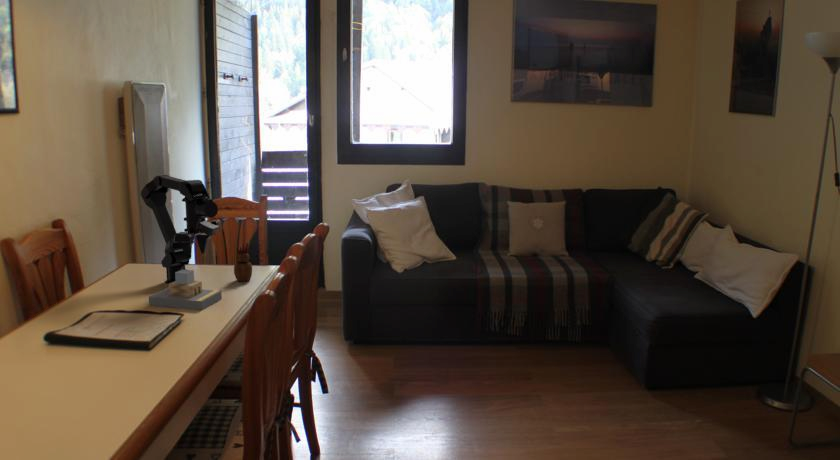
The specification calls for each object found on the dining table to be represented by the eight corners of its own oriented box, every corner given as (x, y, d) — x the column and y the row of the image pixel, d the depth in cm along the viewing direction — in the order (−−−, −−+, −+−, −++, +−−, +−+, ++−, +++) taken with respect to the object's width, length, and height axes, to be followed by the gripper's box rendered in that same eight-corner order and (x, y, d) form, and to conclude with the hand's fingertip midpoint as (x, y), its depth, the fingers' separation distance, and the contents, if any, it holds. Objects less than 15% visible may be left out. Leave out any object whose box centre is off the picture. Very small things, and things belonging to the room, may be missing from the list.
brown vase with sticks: (254, 279, 268) (253, 241, 265) (249, 282, 262) (248, 244, 259) (237, 278, 268) (236, 241, 266) (232, 282, 263) (230, 244, 260)
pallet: (169, 295, 234) (168, 283, 234) (178, 290, 240) (178, 279, 239) (192, 297, 233) (192, 285, 232) (202, 292, 238) (201, 281, 238)
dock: (149, 305, 233) (148, 296, 232) (170, 294, 245) (170, 286, 245) (202, 310, 228) (201, 300, 228) (221, 299, 241) (221, 290, 240)
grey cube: (175, 283, 234) (175, 272, 233) (182, 280, 238) (182, 269, 237) (187, 284, 233) (186, 273, 232) (194, 281, 237) (193, 270, 236)
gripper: (200, 220, 239) (202, 263, 242) (226, 211, 257) (228, 252, 260) (172, 218, 242) (174, 261, 245) (200, 210, 260) (202, 250, 263)
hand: (196, 256), depth 253 cm, fingers open, 9 cm apart
